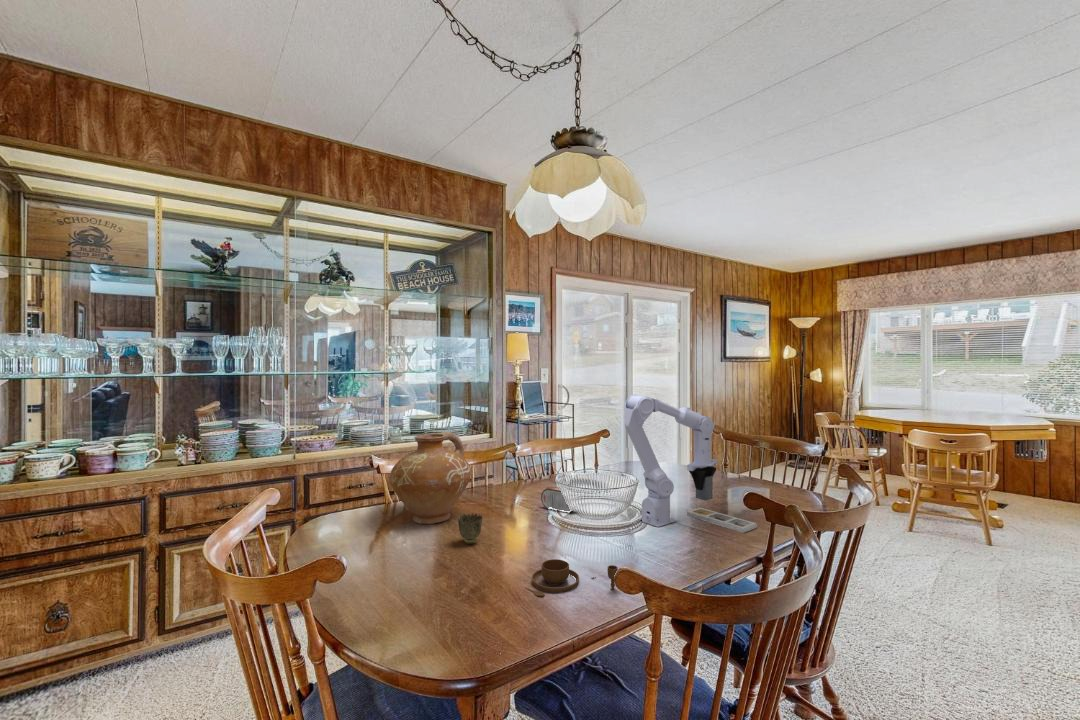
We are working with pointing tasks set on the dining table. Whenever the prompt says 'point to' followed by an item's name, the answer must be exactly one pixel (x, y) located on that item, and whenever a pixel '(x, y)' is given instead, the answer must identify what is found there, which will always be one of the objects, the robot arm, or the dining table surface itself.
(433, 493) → the jug
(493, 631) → the dining table surface
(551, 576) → the place setting
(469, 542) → the cup
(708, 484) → the block
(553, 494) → the tin
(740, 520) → the grey compartment tray
